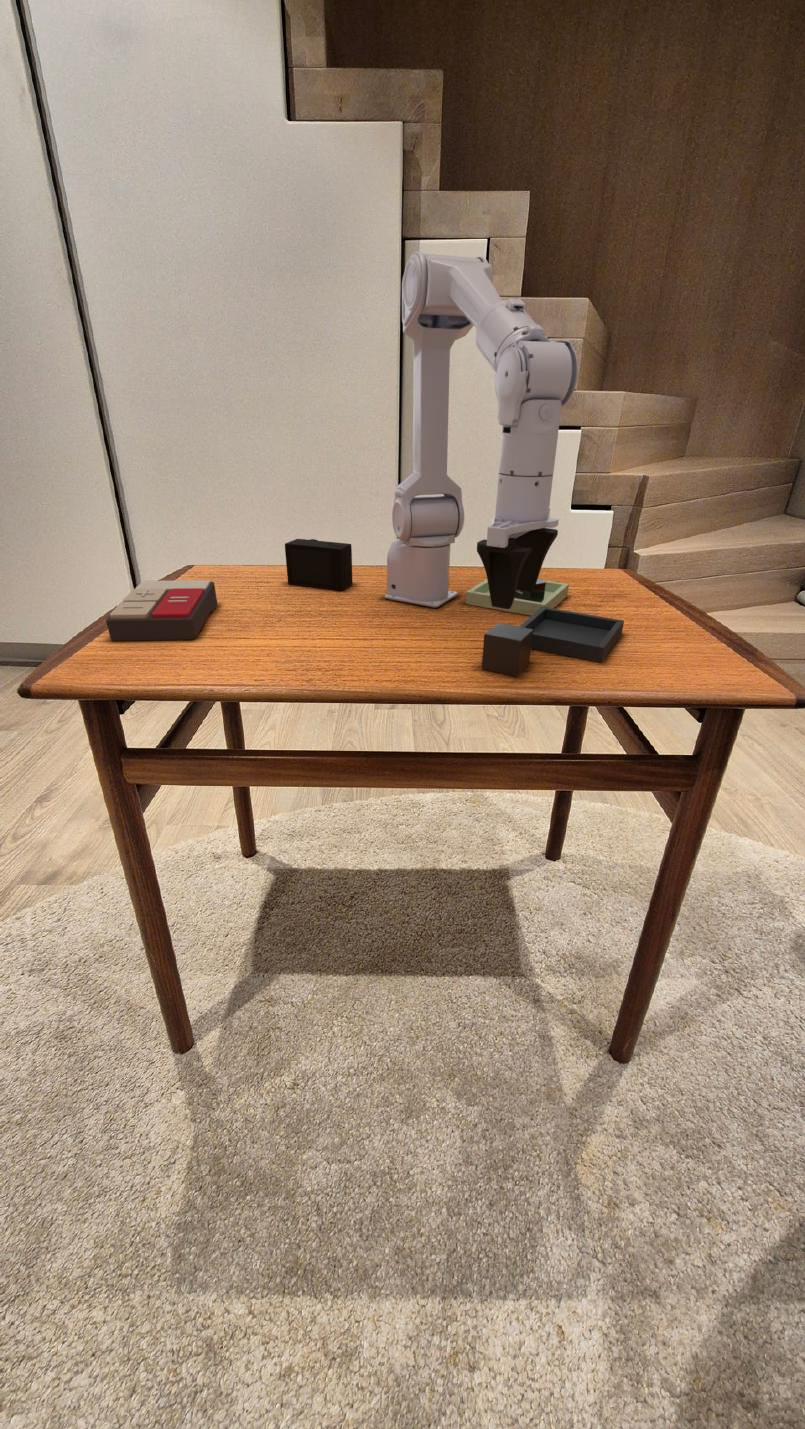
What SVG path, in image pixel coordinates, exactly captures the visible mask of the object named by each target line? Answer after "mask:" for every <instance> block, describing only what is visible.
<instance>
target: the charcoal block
mask: <svg viewBox="0 0 805 1429" xmlns="http://www.w3.org/2000/svg"><path fill="white" fill-rule="evenodd" d="M532 638H533V629H528V628H523V627H519V626H517V625H512V624H506V623H500V622H498V623H496V624H495V625H494V626H492V627H491V628H490V629H488V630H487V631H486V632H485V633H484V634H483V645H482V658H481V670H484V671H490V672H494V673H497V674H501V675H507V676H511V677H516V678H517V677H519V676H520V674H522V672H523V671H524V670H525V669H526V668H527V667H528V666H529V665H530V663H531V662H530V661H531V654H532V648H531V647H532Z"/></svg>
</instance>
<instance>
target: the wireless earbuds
mask: <svg viewBox="0 0 805 1429" xmlns="http://www.w3.org/2000/svg"><path fill="white" fill-rule="evenodd" d="M543 580H544V579H540V578H538V579H537V582H536V585H535V587H534V590H533V591H532V592H528V591H521V590H516V593H515V597H516V598H519V599H522V600H528V601H534V602H542V601H543V600H544V594H545V587H546V581H547V580H544V581H543Z"/></svg>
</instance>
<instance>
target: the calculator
mask: <svg viewBox="0 0 805 1429" xmlns="http://www.w3.org/2000/svg"><path fill="white" fill-rule="evenodd" d="M217 605H218V598H217V592H216V585H215V582H214V581H211V580H209V579H198V580H197V579H193V580H191V579H190V580H188V579H187V580H186V579H185V580H183V579H181V580H142V581H140V582H139V583H138V584H137V585H136V587H135V588H133V589H132V590H131V591H129V593H128V594H127V595H126V596H125V597H124V598H123V599H122V601H121V602H119V604H118V605H116V607H115V608H114V609H113V610H112V611H111V612H110V613H109V615H108V617H107V618H106V619H105V622H106V627H107V630H108V634H109V638H110V640H111V641H113V642H116V641H117V642H118V641H119V642H121V641H122V642H123V641H125V642H126V641H181V640H182V641H184V640H186V641H190V640H196V638H197V637H198V635H199V633H200V632H201V629H202V628H203V626H204V624H205V622H206V621H207V619H208V617H209V615H210V613H214V611H215V609H216V607H217Z"/></svg>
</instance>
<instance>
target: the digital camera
mask: <svg viewBox="0 0 805 1429" xmlns="http://www.w3.org/2000/svg"><path fill="white" fill-rule="evenodd" d="M352 550H353V548H352V543H347V542H336V541H326V540H325V541H324V540H318V539H314V538H311V539H306V538H296V539H292V540H291V541H288V542H285V543H284V554H285V562H286V564H285V565H286V566H285V567H286V574H287V575H286V577H287V585H294V586H299V587H308V588H315V589H323V590H332V591H340V592H343V591H345V590H347V588H349V587H351V586H352V585H354V584H353V582H354V581H353V551H352Z"/></svg>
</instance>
